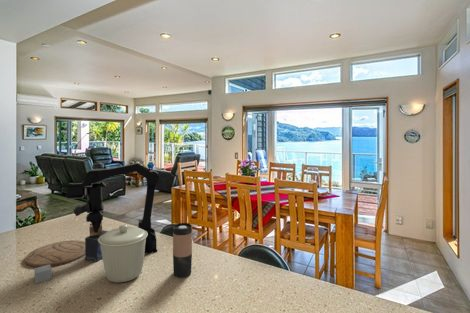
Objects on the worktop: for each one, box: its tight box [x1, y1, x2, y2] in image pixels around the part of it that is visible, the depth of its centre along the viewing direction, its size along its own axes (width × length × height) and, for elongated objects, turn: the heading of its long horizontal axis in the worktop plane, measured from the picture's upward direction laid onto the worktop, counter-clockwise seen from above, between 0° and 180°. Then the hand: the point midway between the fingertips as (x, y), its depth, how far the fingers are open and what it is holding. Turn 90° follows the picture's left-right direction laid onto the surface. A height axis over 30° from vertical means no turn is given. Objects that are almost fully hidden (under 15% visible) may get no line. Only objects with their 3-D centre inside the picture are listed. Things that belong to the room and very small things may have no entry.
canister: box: [98, 223, 148, 284], centre depth 103 cm, size 18×18×21 cm
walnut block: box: [89, 222, 103, 236], centre depth 117 cm, size 5×5×4 cm
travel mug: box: [172, 222, 193, 279], centre depth 105 cm, size 8×8×20 cm
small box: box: [84, 229, 109, 263], centre depth 119 cm, size 11×6×10 cm, turn 168°
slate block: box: [33, 264, 53, 284], centre depth 100 cm, size 5×5×4 cm
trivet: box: [24, 239, 85, 268], centre depth 121 cm, size 25×25×2 cm
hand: (96, 230), depth 117 cm, fingers closed on walnut block, 5 cm apart
